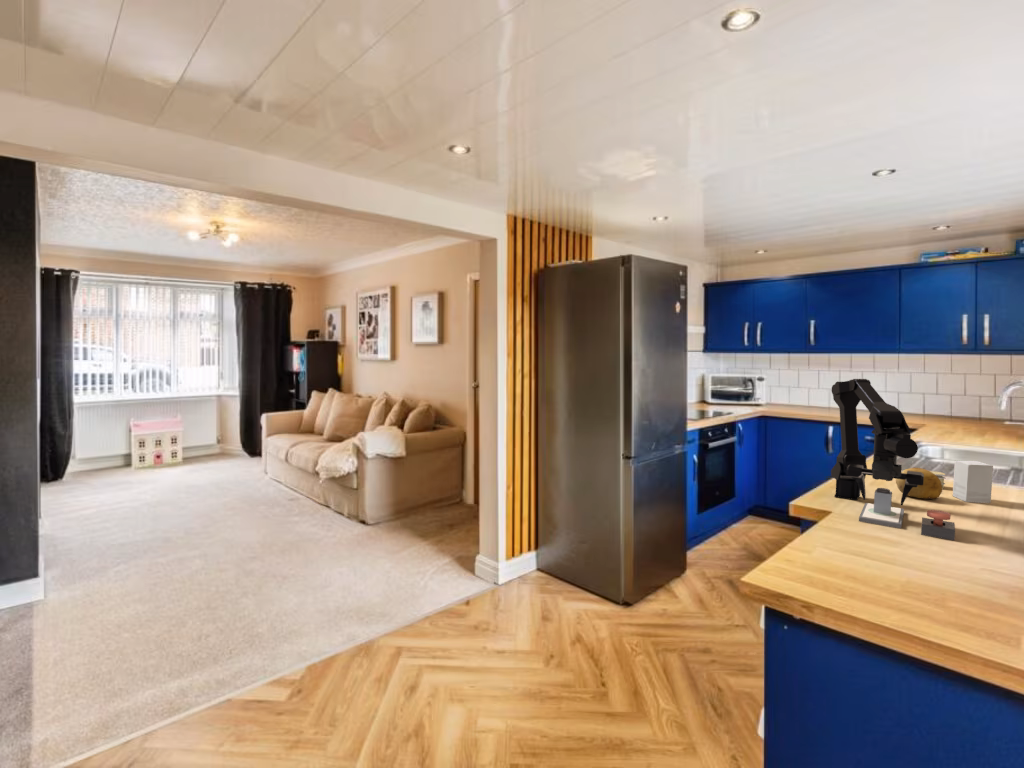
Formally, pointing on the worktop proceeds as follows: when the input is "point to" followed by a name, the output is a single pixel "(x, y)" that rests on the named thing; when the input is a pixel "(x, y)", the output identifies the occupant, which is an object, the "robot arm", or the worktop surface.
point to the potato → (929, 487)
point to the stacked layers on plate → (940, 477)
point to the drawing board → (882, 516)
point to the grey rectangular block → (882, 501)
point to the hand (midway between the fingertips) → (882, 502)
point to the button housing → (938, 529)
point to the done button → (938, 516)
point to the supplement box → (972, 481)
